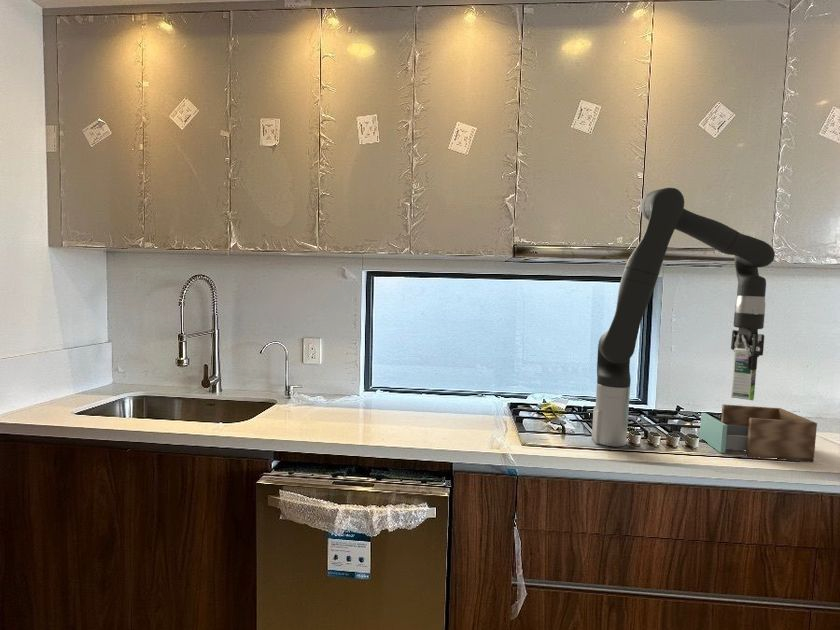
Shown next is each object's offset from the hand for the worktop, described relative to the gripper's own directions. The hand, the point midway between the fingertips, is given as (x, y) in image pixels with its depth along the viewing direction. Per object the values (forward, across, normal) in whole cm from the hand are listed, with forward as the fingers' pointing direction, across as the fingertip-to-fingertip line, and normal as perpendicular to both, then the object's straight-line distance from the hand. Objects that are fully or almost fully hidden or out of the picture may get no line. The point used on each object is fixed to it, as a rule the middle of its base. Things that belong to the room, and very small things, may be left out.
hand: (744, 367), depth 157 cm
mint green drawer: (+24, 0, -1) cm, 24 cm away
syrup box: (+9, 0, 0) cm, 9 cm away
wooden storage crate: (+24, 0, +7) cm, 25 cm away
